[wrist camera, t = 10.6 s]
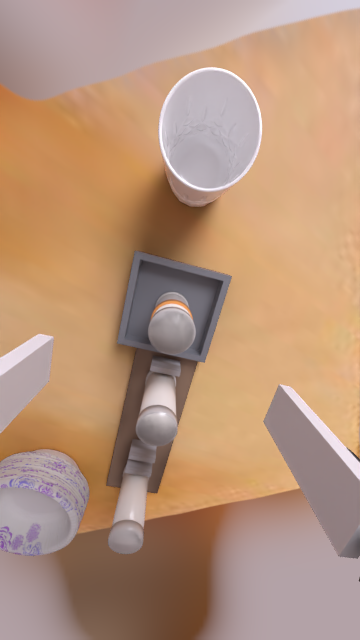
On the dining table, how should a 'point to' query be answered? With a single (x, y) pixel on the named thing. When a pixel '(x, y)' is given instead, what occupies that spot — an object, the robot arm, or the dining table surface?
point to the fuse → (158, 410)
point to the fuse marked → (171, 324)
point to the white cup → (208, 134)
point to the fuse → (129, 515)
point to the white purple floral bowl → (40, 502)
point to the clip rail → (127, 443)
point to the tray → (168, 275)
